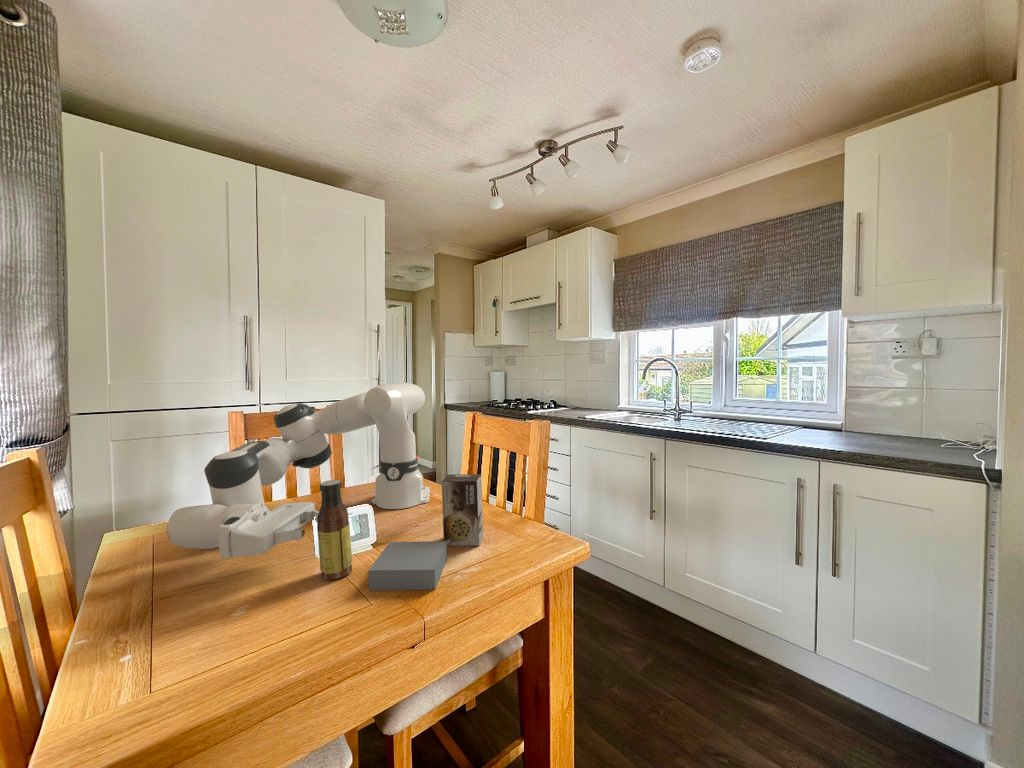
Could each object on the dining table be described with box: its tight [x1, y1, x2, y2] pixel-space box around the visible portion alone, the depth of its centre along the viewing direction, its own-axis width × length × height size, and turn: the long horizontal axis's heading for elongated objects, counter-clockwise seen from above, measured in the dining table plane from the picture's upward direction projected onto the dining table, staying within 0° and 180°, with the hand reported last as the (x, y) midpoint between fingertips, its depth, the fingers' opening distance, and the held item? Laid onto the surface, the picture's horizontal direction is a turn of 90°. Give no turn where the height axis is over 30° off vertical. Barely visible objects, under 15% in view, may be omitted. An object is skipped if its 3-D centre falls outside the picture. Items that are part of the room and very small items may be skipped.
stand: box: [368, 540, 448, 591], centre depth 85 cm, size 13×13×4 cm
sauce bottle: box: [316, 479, 353, 581], centre depth 85 cm, size 6×6×20 cm
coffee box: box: [440, 473, 484, 547], centre depth 101 cm, size 9×6×16 cm
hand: (314, 525), depth 85 cm, fingers open, 8 cm apart
